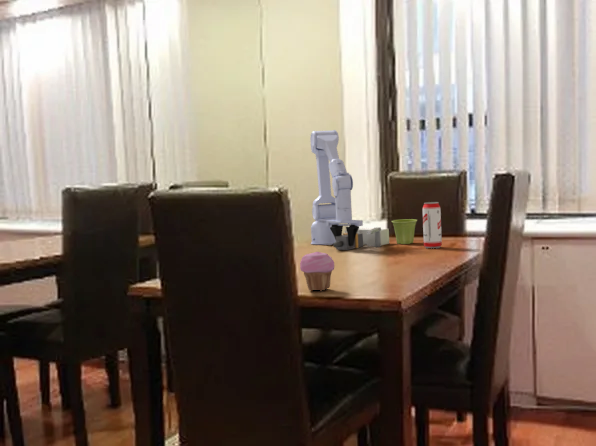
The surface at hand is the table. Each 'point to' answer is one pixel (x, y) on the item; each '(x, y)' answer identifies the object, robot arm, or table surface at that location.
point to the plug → (344, 244)
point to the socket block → (374, 237)
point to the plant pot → (404, 230)
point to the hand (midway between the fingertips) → (345, 245)
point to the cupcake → (317, 270)
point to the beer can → (432, 225)
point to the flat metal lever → (374, 230)
